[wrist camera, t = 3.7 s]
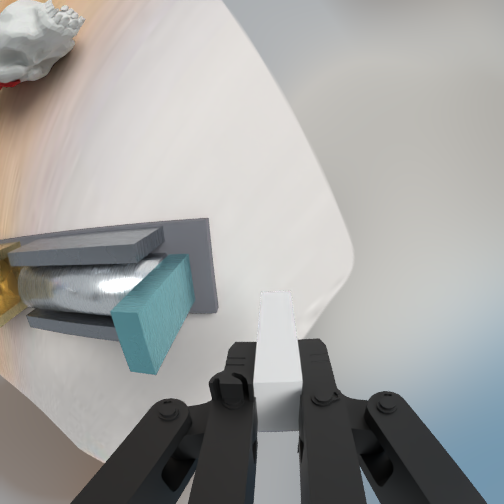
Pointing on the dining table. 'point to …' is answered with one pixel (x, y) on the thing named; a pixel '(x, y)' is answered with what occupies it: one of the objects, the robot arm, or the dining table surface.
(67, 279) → the bolt
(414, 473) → the robot arm
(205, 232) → the mat
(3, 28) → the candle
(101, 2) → the dining table surface
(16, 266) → the guide
